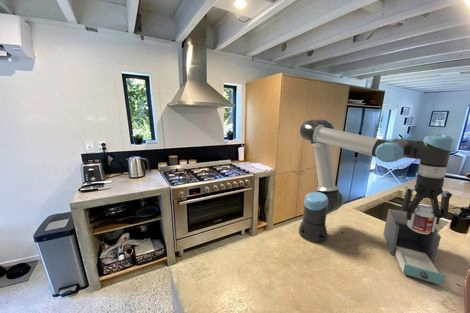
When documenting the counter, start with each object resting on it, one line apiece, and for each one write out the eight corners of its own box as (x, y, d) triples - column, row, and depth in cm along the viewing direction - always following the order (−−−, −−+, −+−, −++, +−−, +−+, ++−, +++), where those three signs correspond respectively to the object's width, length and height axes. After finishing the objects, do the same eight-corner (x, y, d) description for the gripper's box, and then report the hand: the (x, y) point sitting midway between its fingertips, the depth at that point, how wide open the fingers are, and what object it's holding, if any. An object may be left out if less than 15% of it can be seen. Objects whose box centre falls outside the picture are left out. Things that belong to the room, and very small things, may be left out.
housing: (383, 234, 107) (388, 208, 104) (418, 242, 100) (425, 215, 97) (390, 254, 92) (397, 225, 88) (432, 266, 85) (441, 234, 82)
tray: (393, 249, 94) (395, 241, 93) (425, 257, 88) (428, 249, 88) (404, 275, 79) (406, 266, 78) (444, 288, 73) (447, 278, 72)
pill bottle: (428, 236, 75) (434, 211, 73) (408, 229, 80) (412, 205, 78) (431, 231, 79) (436, 206, 77) (411, 224, 84) (415, 201, 82)
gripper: (403, 175, 75) (394, 228, 80) (471, 181, 68) (457, 239, 72) (396, 170, 82) (388, 219, 86) (457, 175, 74) (445, 228, 79)
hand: (420, 228), depth 79 cm, fingers closed on pill bottle, 6 cm apart
